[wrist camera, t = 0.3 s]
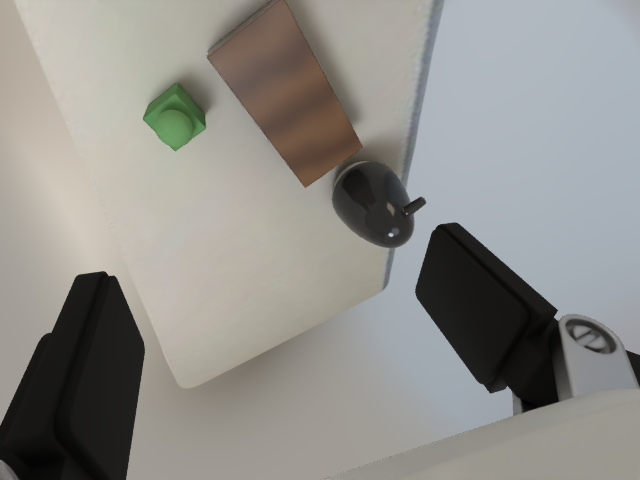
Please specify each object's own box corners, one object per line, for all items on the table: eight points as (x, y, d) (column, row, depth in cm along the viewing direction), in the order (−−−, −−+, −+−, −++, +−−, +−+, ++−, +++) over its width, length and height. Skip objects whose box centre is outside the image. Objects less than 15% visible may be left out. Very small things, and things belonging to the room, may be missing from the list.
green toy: (147, 105, 38) (137, 129, 31) (177, 82, 37) (173, 101, 31) (177, 136, 41) (173, 163, 34) (205, 114, 40) (206, 138, 34)
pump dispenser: (398, 167, 53) (455, 218, 41) (361, 218, 57) (403, 278, 45) (350, 138, 47) (400, 187, 36) (312, 197, 51) (346, 258, 40)
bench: (205, 48, 36) (206, 57, 32) (272, -5, 35) (283, -4, 30) (294, 169, 48) (305, 188, 43) (346, 131, 47) (363, 147, 42)
